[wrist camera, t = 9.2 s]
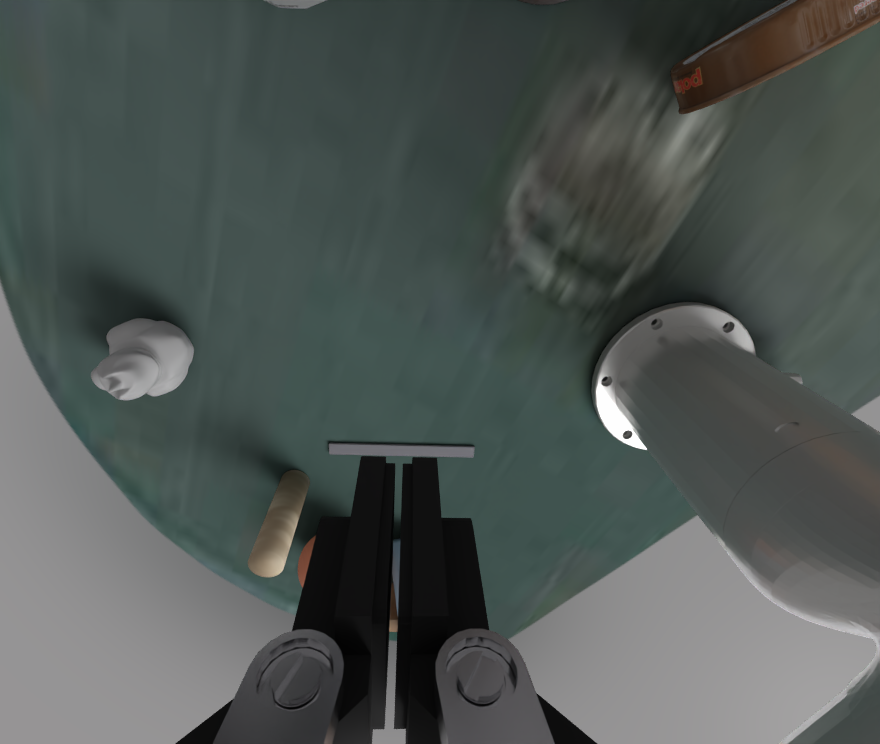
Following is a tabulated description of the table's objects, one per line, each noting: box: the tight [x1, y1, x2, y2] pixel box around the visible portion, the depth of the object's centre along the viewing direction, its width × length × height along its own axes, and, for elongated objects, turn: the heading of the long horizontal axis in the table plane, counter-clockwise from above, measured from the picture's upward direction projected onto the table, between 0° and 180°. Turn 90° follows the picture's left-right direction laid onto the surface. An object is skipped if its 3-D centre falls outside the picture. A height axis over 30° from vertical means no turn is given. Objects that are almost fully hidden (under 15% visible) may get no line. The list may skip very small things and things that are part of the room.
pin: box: [392, 538, 400, 615], centre depth 42 cm, size 2×2×9 cm
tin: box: [671, 0, 880, 114], centre depth 25 cm, size 15×3×8 cm, turn 117°
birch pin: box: [248, 470, 310, 577], centre depth 37 cm, size 2×2×9 cm
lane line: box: [329, 443, 475, 457], centre depth 40 cm, size 12×1×1 cm, turn 86°
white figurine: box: [91, 318, 194, 400], centre depth 32 cm, size 5×7×8 cm
